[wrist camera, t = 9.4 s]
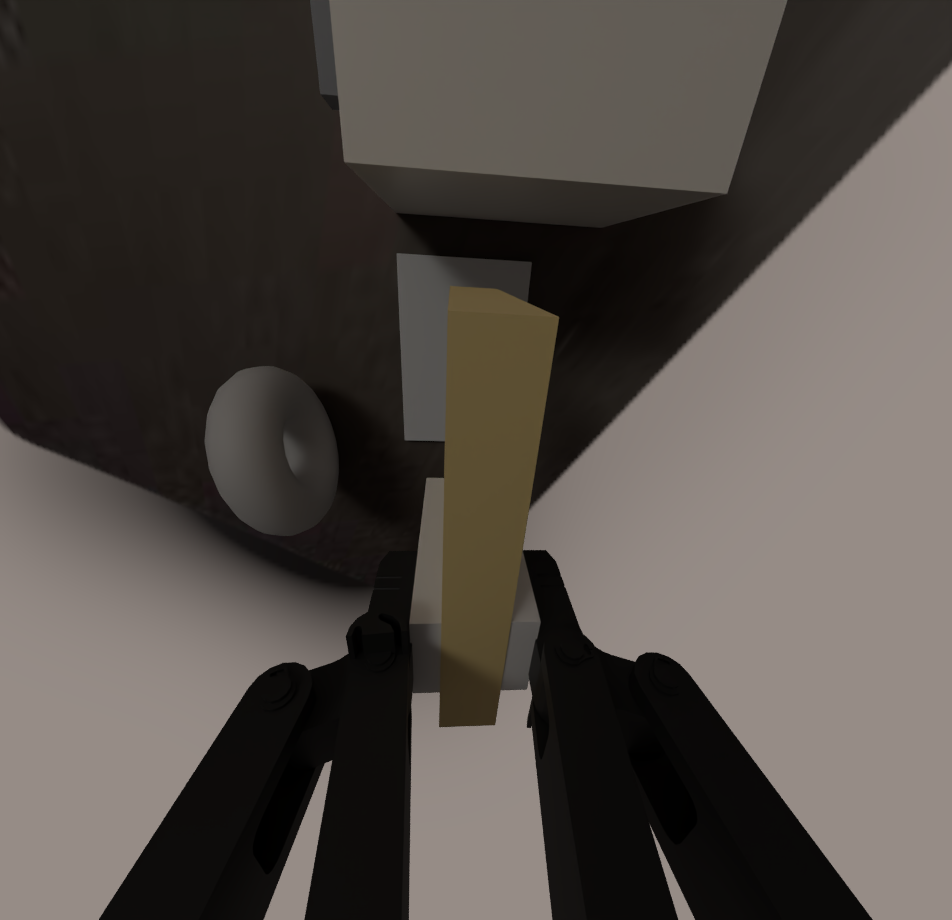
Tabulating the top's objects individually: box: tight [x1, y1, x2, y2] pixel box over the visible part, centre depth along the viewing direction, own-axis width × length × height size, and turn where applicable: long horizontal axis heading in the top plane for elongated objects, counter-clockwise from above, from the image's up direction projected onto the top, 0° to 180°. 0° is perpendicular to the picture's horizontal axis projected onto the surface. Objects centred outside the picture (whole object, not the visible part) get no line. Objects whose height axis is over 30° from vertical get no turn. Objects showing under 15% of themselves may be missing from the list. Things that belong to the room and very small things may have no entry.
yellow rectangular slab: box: [439, 286, 559, 727], centre depth 11 cm, size 2×11×8 cm, turn 177°
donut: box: [205, 366, 339, 536], centre depth 21 cm, size 10×4×10 cm, turn 8°
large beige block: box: [310, 0, 787, 228], centre depth 14 cm, size 8×13×11 cm, turn 87°
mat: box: [397, 253, 532, 441], centre depth 24 cm, size 12×8×1 cm, turn 177°
